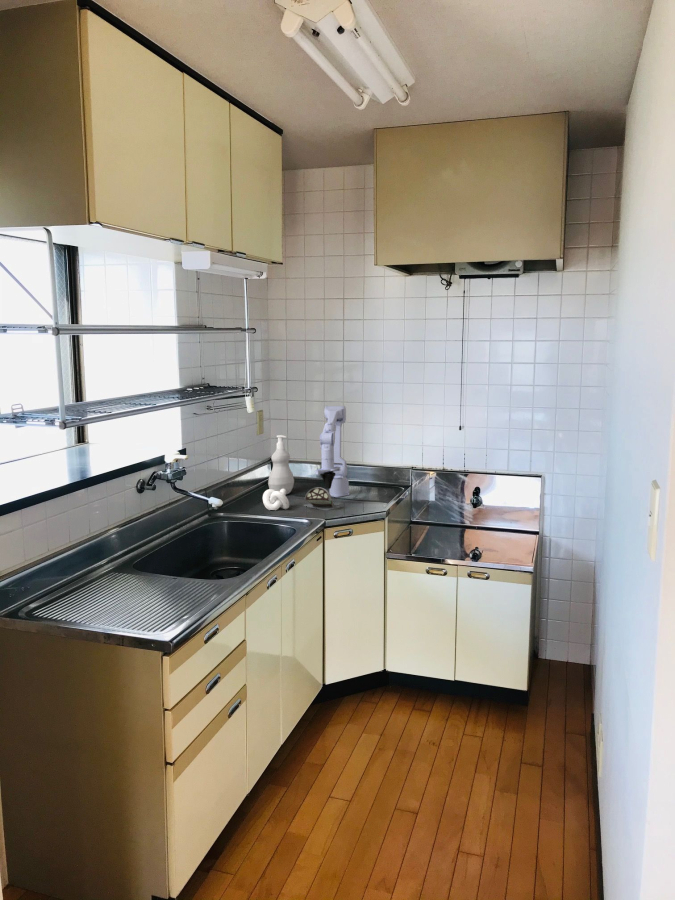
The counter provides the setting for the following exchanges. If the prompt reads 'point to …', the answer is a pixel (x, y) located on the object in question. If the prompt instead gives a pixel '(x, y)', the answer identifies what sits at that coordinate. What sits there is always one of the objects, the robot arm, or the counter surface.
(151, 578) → the counter surface
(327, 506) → the mat
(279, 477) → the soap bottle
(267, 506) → the white knot
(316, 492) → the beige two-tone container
